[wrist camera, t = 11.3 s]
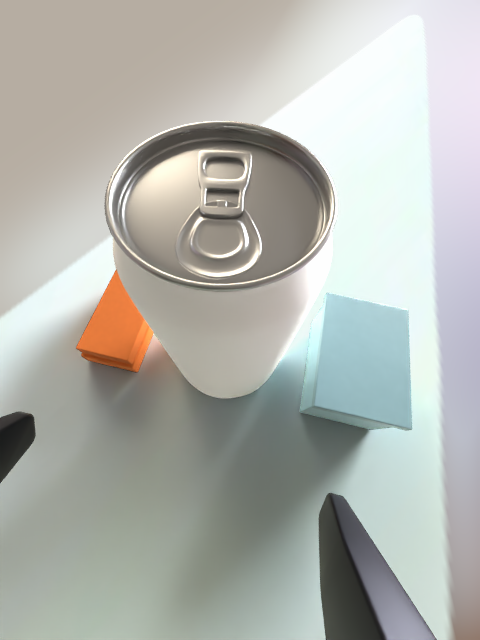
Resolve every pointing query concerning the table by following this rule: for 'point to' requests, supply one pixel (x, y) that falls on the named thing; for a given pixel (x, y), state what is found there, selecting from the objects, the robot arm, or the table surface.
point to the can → (222, 246)
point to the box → (359, 364)
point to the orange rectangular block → (116, 330)
